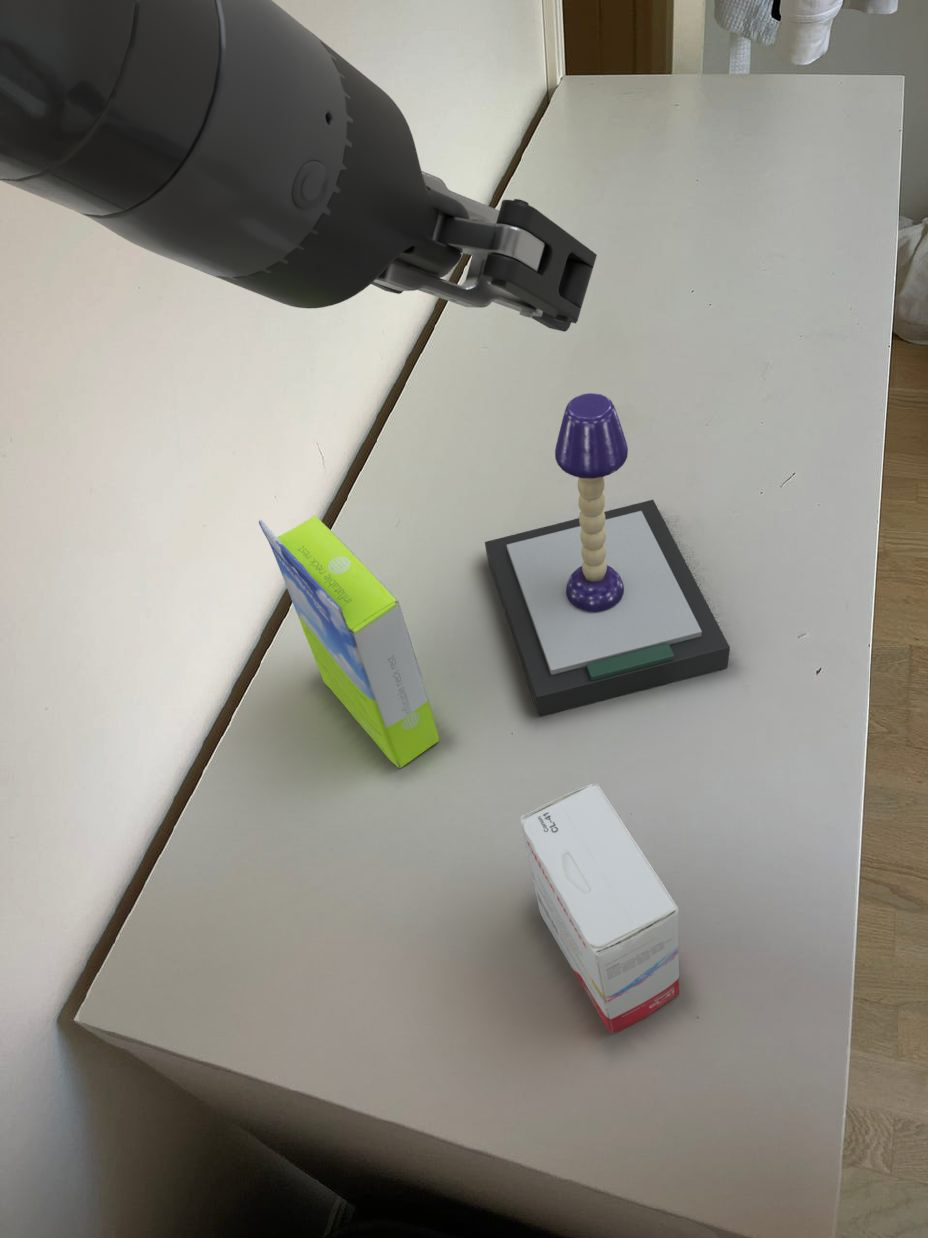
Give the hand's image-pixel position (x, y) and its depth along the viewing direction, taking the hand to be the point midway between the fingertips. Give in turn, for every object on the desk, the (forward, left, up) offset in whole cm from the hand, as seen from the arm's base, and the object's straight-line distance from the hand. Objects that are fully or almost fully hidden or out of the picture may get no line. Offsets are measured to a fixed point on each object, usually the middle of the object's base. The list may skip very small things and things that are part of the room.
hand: (481, 287), depth 44 cm
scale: (+9, -7, -35) cm, 37 cm away
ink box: (-16, +1, -35) cm, 39 cm away
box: (+5, +11, -35) cm, 37 cm away
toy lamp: (+9, -7, -32) cm, 34 cm away
